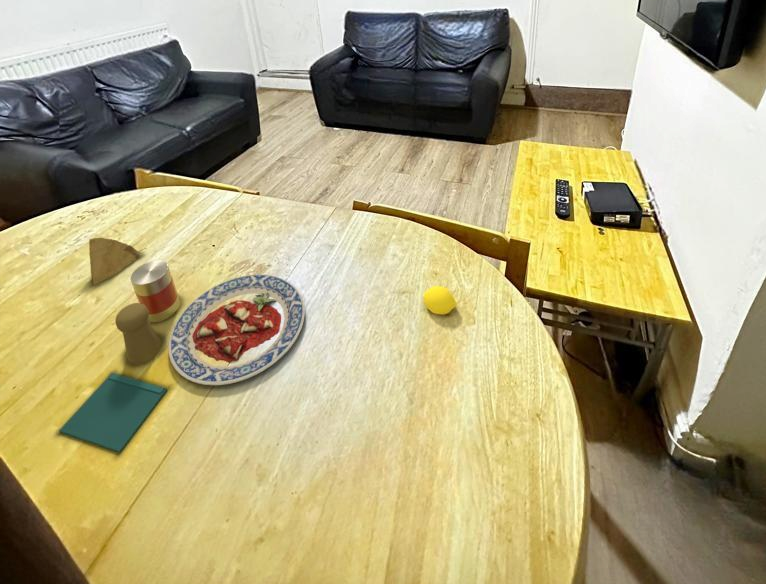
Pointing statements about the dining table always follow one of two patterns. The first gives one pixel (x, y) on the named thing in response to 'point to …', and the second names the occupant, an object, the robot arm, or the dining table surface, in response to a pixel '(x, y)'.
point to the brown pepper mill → (138, 333)
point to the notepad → (114, 412)
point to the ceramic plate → (235, 329)
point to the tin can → (156, 290)
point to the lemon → (439, 300)
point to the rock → (109, 257)
